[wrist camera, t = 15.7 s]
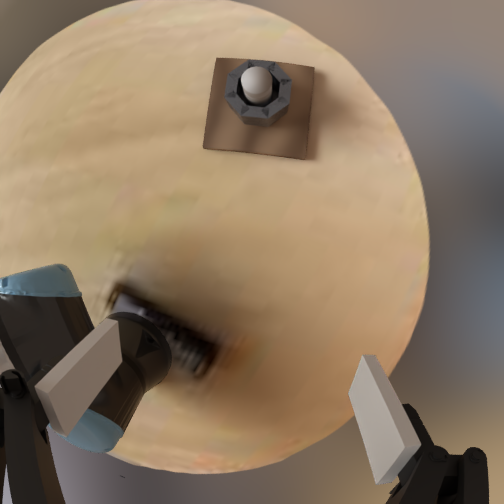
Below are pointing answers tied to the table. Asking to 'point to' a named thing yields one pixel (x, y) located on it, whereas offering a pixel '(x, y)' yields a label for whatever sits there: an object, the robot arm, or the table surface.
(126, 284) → the table surface
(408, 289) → the table surface
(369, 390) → the robot arm
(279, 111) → the collar
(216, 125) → the shaft block
